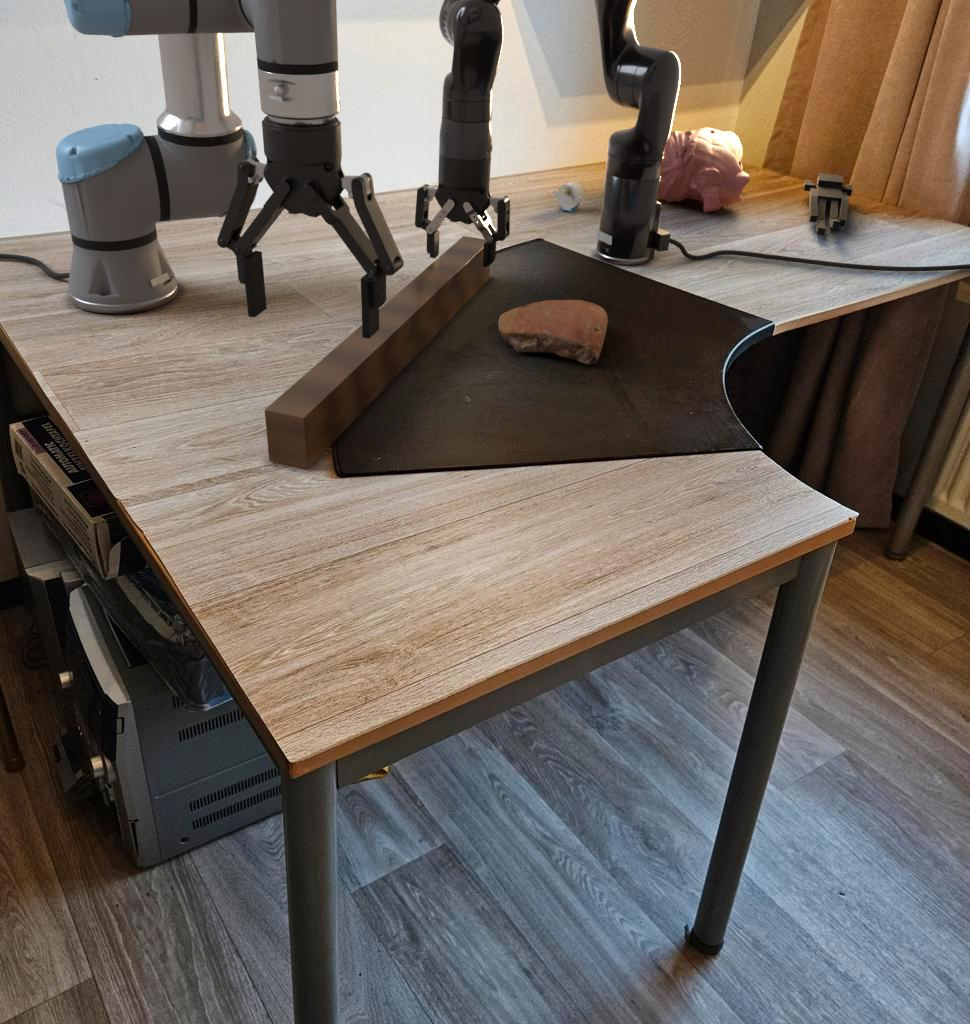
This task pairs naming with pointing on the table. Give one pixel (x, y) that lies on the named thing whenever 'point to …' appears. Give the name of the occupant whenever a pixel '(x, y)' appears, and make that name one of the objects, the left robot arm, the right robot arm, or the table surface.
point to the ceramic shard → (557, 328)
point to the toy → (828, 201)
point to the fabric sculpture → (703, 168)
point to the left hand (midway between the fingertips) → (313, 323)
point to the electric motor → (570, 196)
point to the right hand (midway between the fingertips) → (460, 261)
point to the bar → (371, 357)
